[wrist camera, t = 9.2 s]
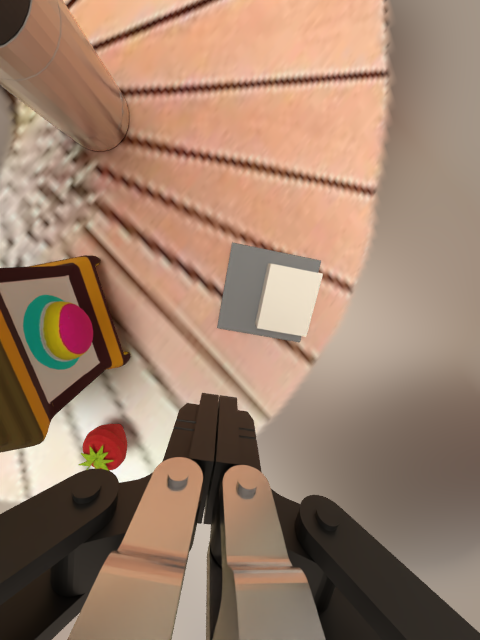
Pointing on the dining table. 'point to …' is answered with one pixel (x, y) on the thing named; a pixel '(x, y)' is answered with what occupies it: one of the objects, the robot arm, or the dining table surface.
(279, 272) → the block
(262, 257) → the mat
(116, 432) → the strawberry
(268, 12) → the dining table surface
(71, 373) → the decorative lantern
